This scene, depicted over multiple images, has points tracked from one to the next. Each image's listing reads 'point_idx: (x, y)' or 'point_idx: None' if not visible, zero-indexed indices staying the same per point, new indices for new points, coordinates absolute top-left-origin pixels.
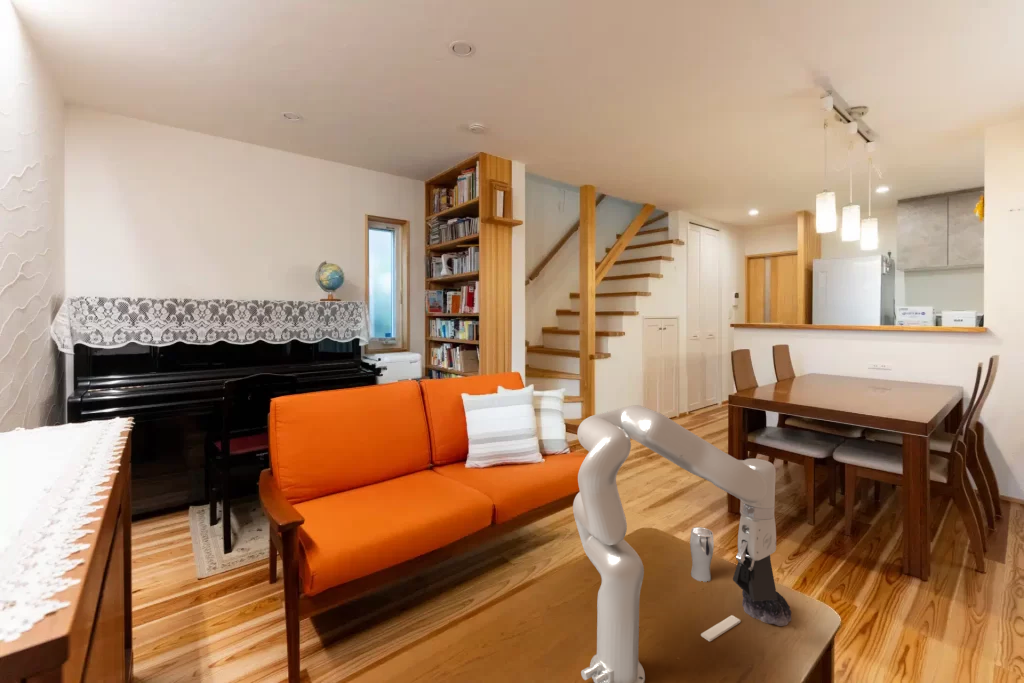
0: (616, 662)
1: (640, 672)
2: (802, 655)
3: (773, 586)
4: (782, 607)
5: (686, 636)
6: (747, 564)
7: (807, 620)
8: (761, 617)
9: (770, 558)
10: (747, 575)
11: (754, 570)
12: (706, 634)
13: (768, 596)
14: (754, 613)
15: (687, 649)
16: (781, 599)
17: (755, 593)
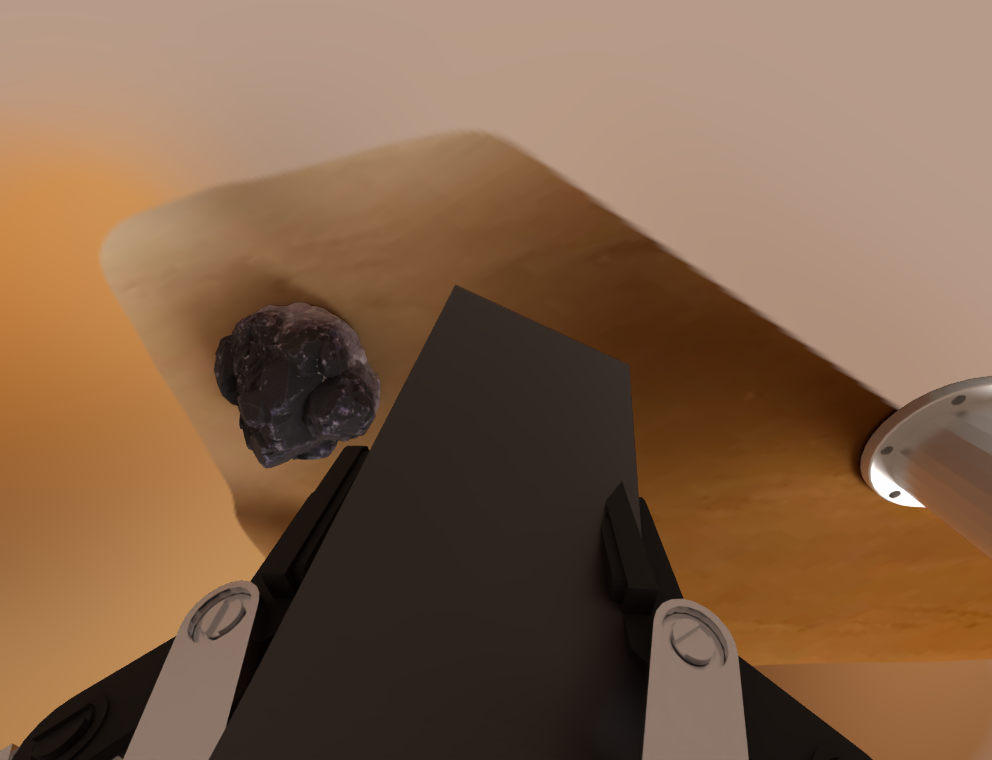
0: None
1: (932, 413)
2: (385, 182)
3: (441, 352)
4: (272, 338)
5: (639, 431)
6: (778, 739)
7: (204, 277)
8: (363, 361)
9: (192, 609)
10: (658, 551)
11: (631, 585)
12: None
13: (520, 328)
14: (374, 382)
15: (692, 401)
16: (239, 363)
17: (617, 392)
